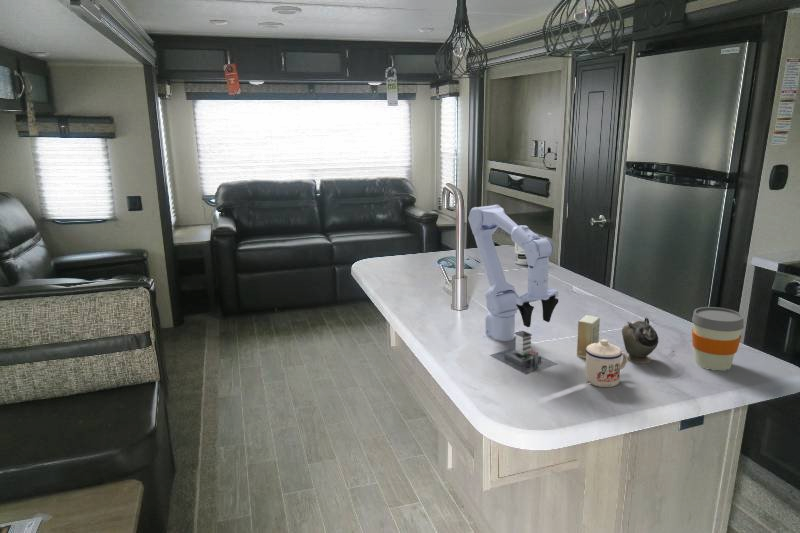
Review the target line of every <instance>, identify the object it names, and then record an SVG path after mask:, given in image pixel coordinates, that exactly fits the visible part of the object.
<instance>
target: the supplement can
mask: <svg viewBox="0 0 800 533" xmlns="http://www.w3.org/2000/svg"><path fill="white" fill-rule="evenodd" d="M514 263H515V264H516V265H519V266H528V264H527V258H526V256H525V253H524V250H523V249H522V248H521V247H519V246H518V245H517V244H516V243H514Z"/></svg>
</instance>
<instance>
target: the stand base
mask: <svg viewBox="0 0 800 533" xmlns="http://www.w3.org/2000/svg"><path fill="white" fill-rule="evenodd" d="M515 349H516V346H514V347H512V348H509V349H505V350H502V351H499V352H495V353H492V354H489V356H490V357H491V358H493V359H496V360H497V361H500V362H501V363H503V364H505V365H507V366H509V367H511V368H512V369H515V370H516V371H518V372H520V373H522V374H524V375H528V374H531V373H535V372H538V371H542V370H544V369H547V368H551V367H553V366H556V365H558V363H557V362H555V361H552V360H550V359H548V358H546V357H544V356H542V355H540V354H539V352H537V351H534V350H530V351H531V353H529V354H525V355H521V354H519V353H517V352H516V351H515ZM522 357H524V358H522Z"/></svg>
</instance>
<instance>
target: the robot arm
mask: <svg viewBox="0 0 800 533" xmlns="http://www.w3.org/2000/svg"><path fill="white" fill-rule="evenodd" d="M468 214H469V215H468V219H467V220H468V223H469V225H470V229H471V231H472V232H471V233H472V235H473V236H474V240H475V243H476V246H477V248H478V249H477V250H478V253H479V256H480V259H481V263H482V265H483V268H484V271H485V275H486V277H487V280H488V284H489V288H488V290H487V291H486V292H485V298H486V308H487V310H488V312H487V313H486V316H485V334H484V335H483V338H488V337H491V338H492V339H493V340H495V341H498V342H499V341H500V342H508V341H509V342H510V341H513V340H514V339H516V337H515V336H516V334H515V333H516V331H515V330H516V327H515V326H516V323H515V322H516V319H515V318H516V314H517V312H518V311H519V313H520V315H521V319H522V323H523V326H524V327H527V328H530V327H531V325H532V315H533V310H534V309H535V307H534V306H533V305H531V304H530V303H533V302H536V301H541V306H542V321H544V322H546V323H550V322H551V318H552V315H553V312H554V310H555V308H556V306H557V305H558V303H559V298H558V297H559V290H557V289H554V288H552V289H549V268H550V267H549V266H550V264H549V263H550V261H549V260H550V257H552V255H553V254H554V252H555V251H554V243H553V242H552V240H551V239H550V238H549V237H546V236H545V237H541V236H539V234H538V233H535V232H533V230H531V229H530V228H529V226H527V225H525V224H524V225H522V224H521V225H518V224H517V223H516V222H515V221H514V220H513V219H511V218H510V217H509V216H508V215H507V214H506V212H505V209H504V208H503V207H501V206H500V205H499V204H493V205H486V206H485V205H484V206H478V207H477V206H474V207H472V208H471V209H470V211H469V213H468ZM498 228H500V229H502V230H503V231H504V232H506V233H507V234H509V235H510V239H511V241H512V242H513V243H514V244H515V243H516V244H517V245H518V246H519V247H521V248H522V249H523V250H524V253H525V256H526V258H527V264H528V265H527V266H528V267H527V269H528V271H527V293H525V294H522V295H520V296H519V293H518V292H517V291H516V288H515V286H514V285H512V284H510V283H509V282H507V280H506V279H507V278H506V276H505V274H504V271H503V268H502V264H501V261H500V259H499V258H500V257H499V255H498V252H497V248H496V246H495V242H494V241H493V237H492V236H493V234H494V233H495V232H496V231H497V230H498Z"/></svg>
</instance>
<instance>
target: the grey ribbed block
mask: <svg viewBox="0 0 800 533" xmlns="http://www.w3.org/2000/svg"><path fill="white" fill-rule="evenodd" d="M532 336H533V334H532V333H529V332H527V331H524V330H520V331H519V330H518V331H517V332H516V331H515V341H514V342H515V344H514V347H516V349H515V351H516V352H517V353H519V354H521V355H525V354H529V353H531V351H532V350H531V349H532V347H531V346H532Z"/></svg>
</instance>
